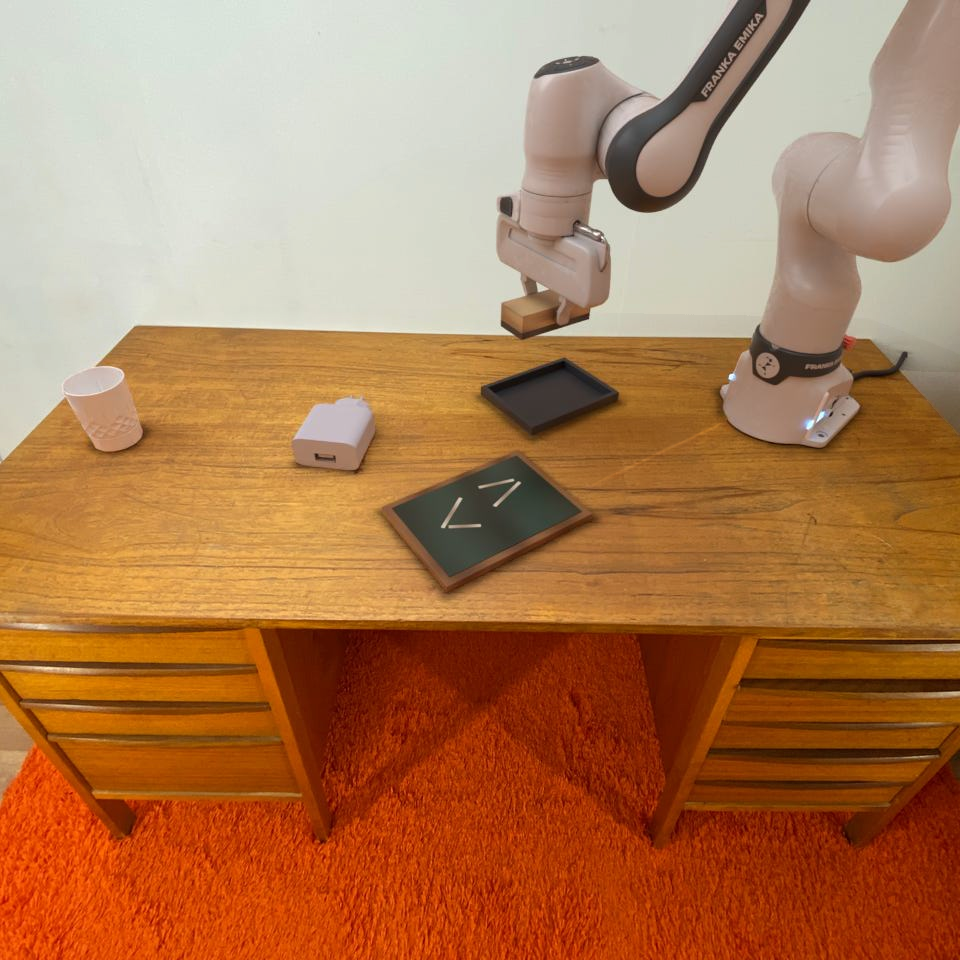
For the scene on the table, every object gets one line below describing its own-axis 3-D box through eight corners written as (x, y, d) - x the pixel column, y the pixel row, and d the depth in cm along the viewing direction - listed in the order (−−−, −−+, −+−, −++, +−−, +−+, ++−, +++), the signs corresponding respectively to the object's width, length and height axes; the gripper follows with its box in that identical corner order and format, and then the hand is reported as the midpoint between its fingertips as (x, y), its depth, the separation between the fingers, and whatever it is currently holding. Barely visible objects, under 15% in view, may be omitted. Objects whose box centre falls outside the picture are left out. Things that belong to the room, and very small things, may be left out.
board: (517, 455, 92) (518, 449, 92) (591, 519, 82) (593, 512, 81) (381, 513, 83) (380, 506, 82) (446, 593, 73) (446, 586, 72)
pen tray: (563, 367, 112) (564, 356, 110) (617, 403, 103) (619, 392, 102) (480, 397, 104) (480, 386, 103) (531, 438, 96) (532, 427, 94)
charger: (387, 412, 101) (358, 471, 89) (330, 406, 102) (295, 464, 90) (384, 386, 98) (354, 444, 86) (326, 381, 99) (289, 437, 87)
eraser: (567, 306, 94) (569, 283, 92) (589, 319, 91) (592, 296, 89) (500, 326, 89) (501, 302, 87) (521, 340, 86) (523, 316, 84)
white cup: (159, 431, 96) (136, 373, 90) (116, 460, 91) (89, 401, 84) (120, 418, 99) (96, 361, 92) (76, 446, 93) (47, 387, 87)
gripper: (631, 231, 75) (613, 337, 84) (526, 187, 88) (521, 283, 97) (590, 240, 72) (576, 350, 81) (489, 194, 85) (486, 293, 94)
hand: (545, 313), depth 89 cm, fingers closed on eraser, 5 cm apart
